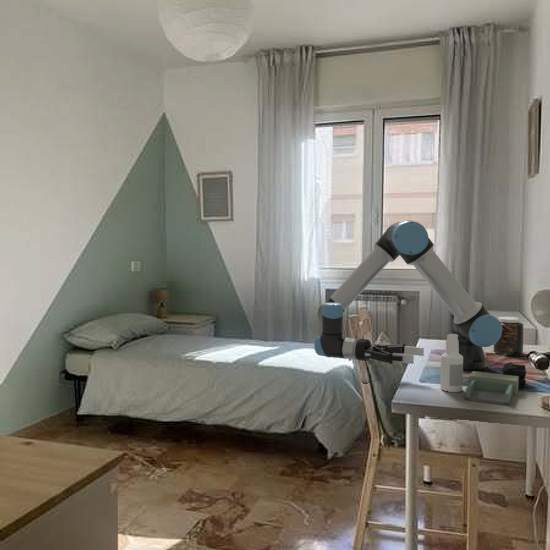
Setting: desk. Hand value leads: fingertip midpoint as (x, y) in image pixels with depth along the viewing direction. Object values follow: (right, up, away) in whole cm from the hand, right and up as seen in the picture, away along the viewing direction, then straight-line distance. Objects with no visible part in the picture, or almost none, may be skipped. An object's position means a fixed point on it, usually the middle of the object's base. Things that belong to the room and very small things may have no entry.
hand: (418, 355), depth 181 cm
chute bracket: (+20, -11, -10) cm, 25 cm away
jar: (+52, -7, +53) cm, 75 cm away
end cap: (+32, -10, +1) cm, 34 cm away
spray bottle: (+9, -11, -4) cm, 15 cm away
